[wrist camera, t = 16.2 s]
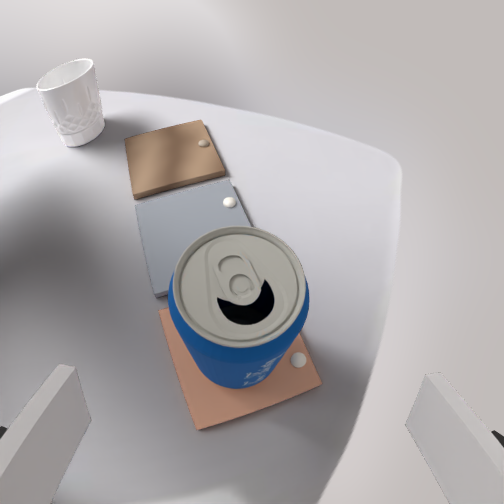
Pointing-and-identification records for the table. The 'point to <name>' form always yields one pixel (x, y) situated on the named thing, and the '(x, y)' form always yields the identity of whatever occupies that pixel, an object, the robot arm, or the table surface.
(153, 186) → the one-dot tile
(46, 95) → the white cup
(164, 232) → the two-dot tile
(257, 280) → the beverage can
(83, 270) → the table surface
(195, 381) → the three-dot tile
